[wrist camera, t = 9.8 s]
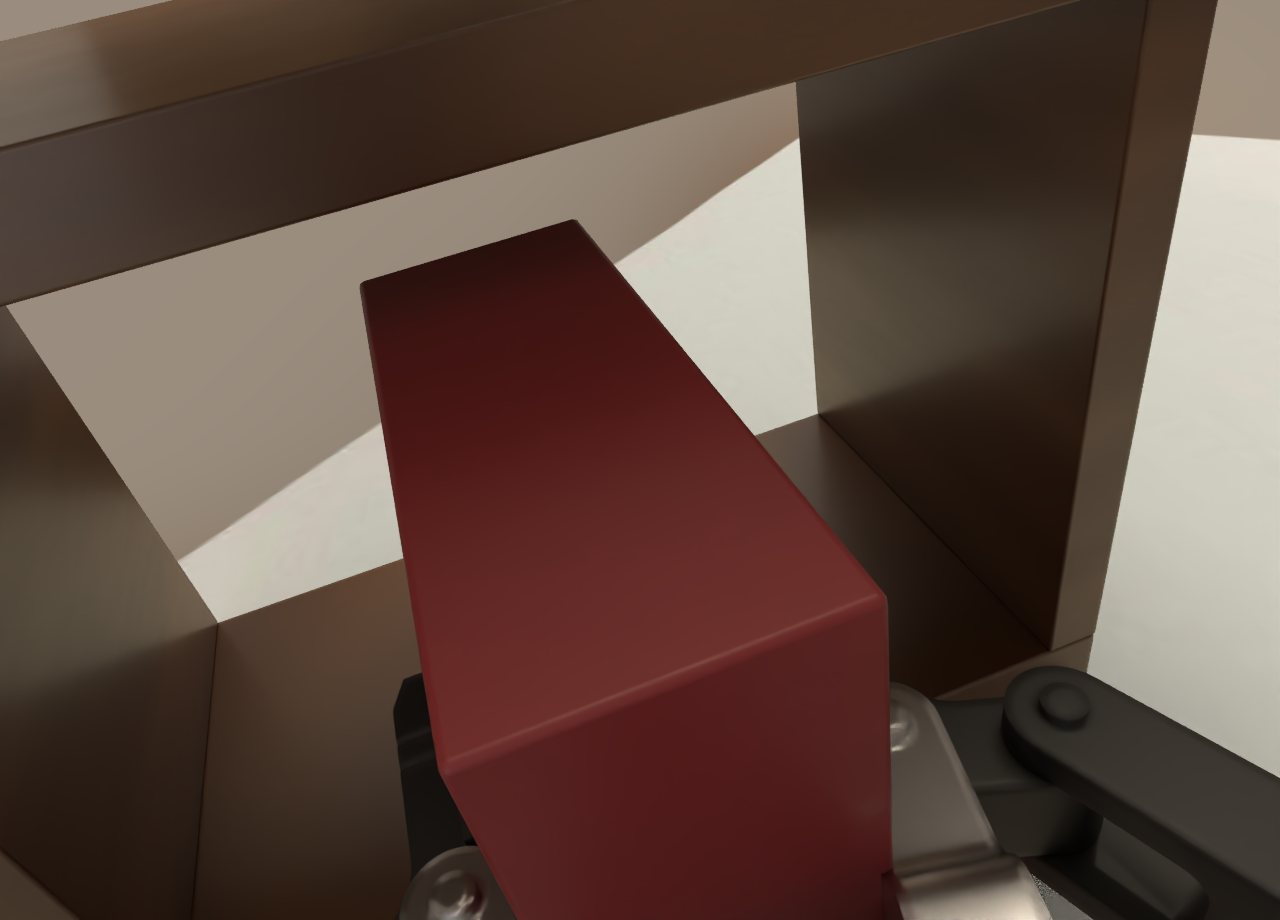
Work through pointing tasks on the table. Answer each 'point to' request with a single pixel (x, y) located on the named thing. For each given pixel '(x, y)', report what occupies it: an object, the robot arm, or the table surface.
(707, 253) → the table surface
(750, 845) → the book
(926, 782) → the robot arm
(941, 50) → the bookcase
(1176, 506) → the table surface
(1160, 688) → the table surface
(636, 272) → the table surface
